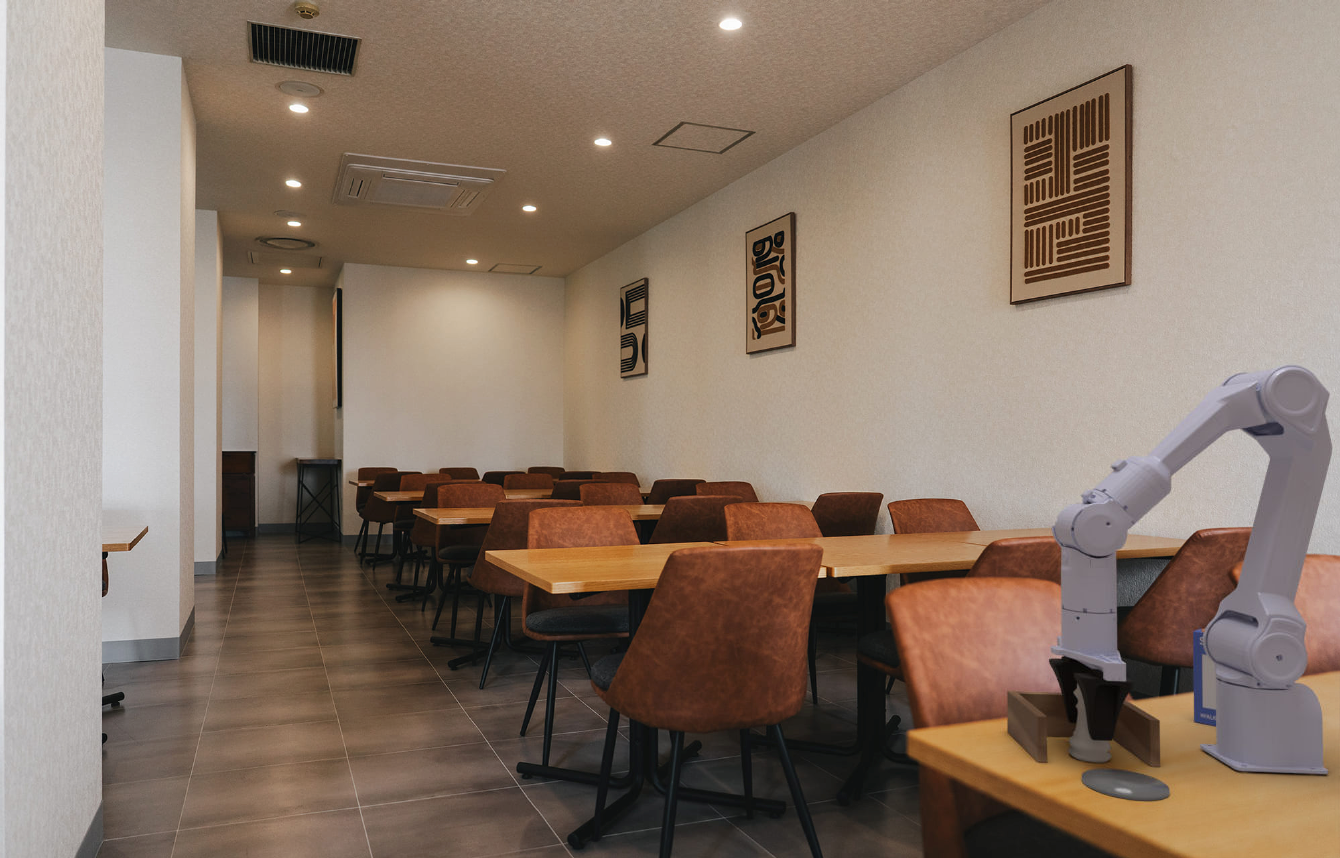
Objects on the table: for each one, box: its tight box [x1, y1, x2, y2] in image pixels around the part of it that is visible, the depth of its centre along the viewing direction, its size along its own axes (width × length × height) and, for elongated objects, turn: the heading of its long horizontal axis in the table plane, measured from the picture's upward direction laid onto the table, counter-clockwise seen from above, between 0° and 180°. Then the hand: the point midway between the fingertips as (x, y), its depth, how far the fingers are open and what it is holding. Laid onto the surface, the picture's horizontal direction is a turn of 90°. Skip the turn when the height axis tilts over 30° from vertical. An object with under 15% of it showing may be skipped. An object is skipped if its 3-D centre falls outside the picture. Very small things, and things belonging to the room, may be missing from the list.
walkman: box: [1192, 628, 1216, 727], centre depth 112 cm, size 8×3×12 cm, turn 44°
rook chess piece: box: [1067, 684, 1113, 764], centre depth 99 cm, size 4×4×8 cm
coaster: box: [1081, 768, 1170, 802], centre depth 90 cm, size 8×8×1 cm
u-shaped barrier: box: [1006, 690, 1161, 768], centre depth 102 cm, size 13×11×5 cm
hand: (1089, 731), depth 99 cm, fingers open, 6 cm apart
